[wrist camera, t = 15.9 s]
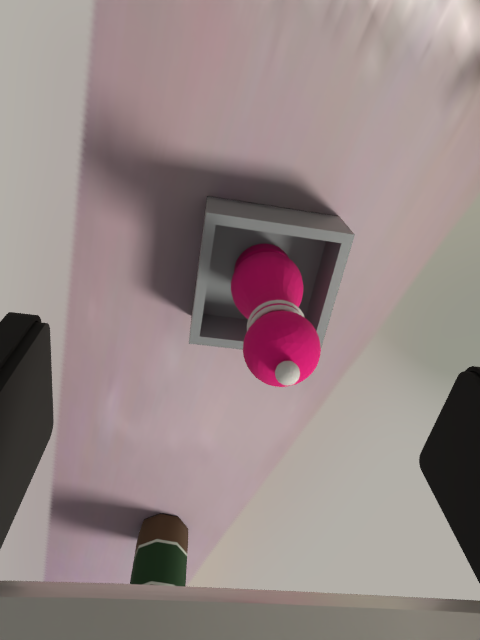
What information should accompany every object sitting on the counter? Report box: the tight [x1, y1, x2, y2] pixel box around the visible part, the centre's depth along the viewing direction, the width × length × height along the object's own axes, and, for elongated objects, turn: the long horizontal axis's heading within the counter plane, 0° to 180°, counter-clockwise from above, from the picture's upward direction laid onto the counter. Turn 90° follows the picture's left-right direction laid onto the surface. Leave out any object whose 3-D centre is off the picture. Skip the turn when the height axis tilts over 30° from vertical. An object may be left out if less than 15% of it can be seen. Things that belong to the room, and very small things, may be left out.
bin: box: [189, 196, 355, 350], centre depth 48 cm, size 14×14×6 cm
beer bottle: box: [130, 514, 188, 587], centre depth 60 cm, size 8×8×24 cm
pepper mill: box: [231, 244, 321, 387], centre depth 40 cm, size 7×7×20 cm
